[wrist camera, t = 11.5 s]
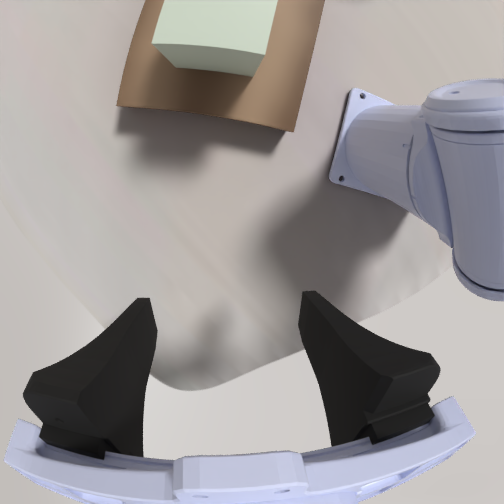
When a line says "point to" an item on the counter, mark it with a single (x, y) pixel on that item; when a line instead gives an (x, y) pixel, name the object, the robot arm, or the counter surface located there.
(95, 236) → the counter surface
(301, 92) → the walnut block
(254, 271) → the counter surface
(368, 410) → the robot arm
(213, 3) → the sage block
